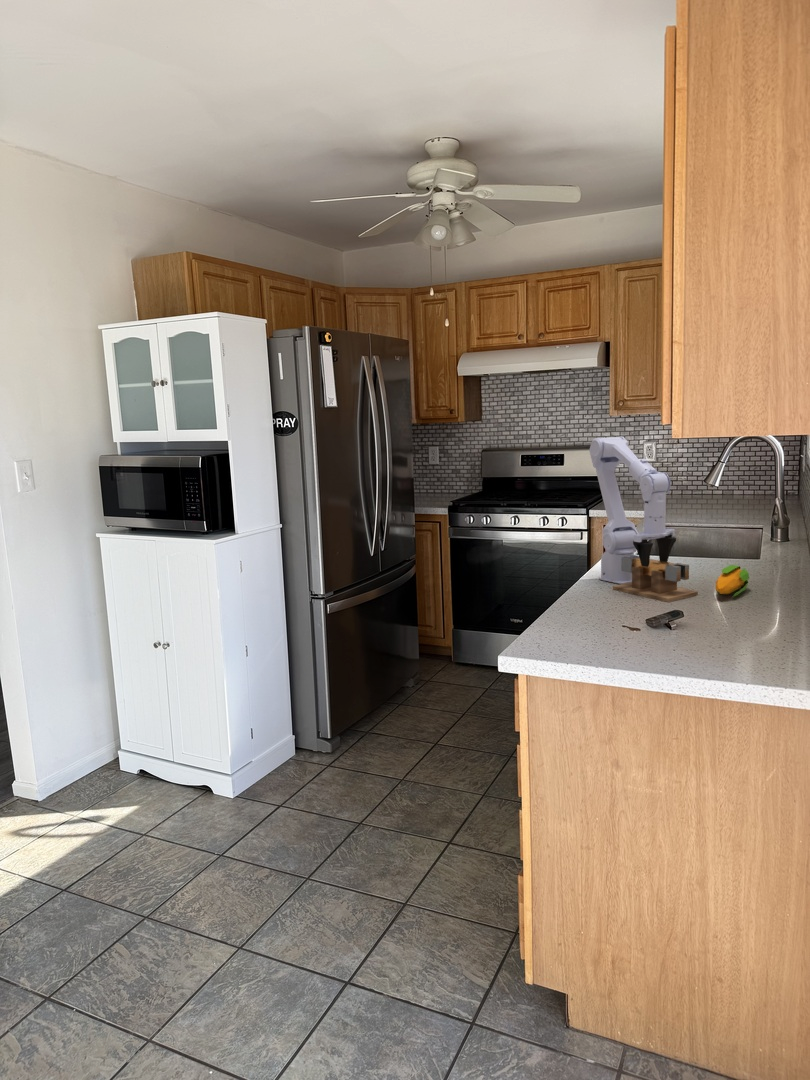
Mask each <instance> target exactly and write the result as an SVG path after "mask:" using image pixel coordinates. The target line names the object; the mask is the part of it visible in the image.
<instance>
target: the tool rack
mask: <svg viewBox="0 0 810 1080" xmlns="http://www.w3.org/2000/svg"><path fill="white" fill-rule="evenodd" d="M613 590H614V591H618V592H621V593H622V592H623V593H626V594H631V595H635V596H640V597H644V598H649V599H653V600H657V601H661V602H665V603H671V602H675V601H679V600H683V599H688V598H692V597H695V596H698V595H699V591H698V590H697V591H696V590H694V589H693V590H692V589H687V588H683V587H678V582H674V581H669V580H665V578H663V572H661V571H656V570H653V571H651V576H649V575H644V574H643V568H640V567H632V582H629V583H624V584H615V585H613V586H612V591H613Z"/></svg>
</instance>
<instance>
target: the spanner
mask: <svg viewBox="0 0 810 1080" xmlns="http://www.w3.org/2000/svg"><path fill="white" fill-rule="evenodd" d="M632 567H640V568H643V574H644V575H649V576H651V571H653V570H656V571H661V572H663V578H665V580H669V581H674V582H677V583H679V582H681V580H684V581H686V580H689V579H690V565H689V564H686V563H681V562H675V563H674V562H671V561H669V562H668V561H667V562H665V561H660V560H659V559H651V558H650V562H649V566H648V567H645V566H641V562H640V558H639V555H635V554H634V555H632V556H630V557H622V558H621V571H624V572H629V573H632Z"/></svg>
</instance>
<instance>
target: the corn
mask: <svg viewBox="0 0 810 1080" xmlns="http://www.w3.org/2000/svg"><path fill="white" fill-rule="evenodd" d="M749 575H750V574H749V572H748V570H747V569H746V568H745V567H744V568H743V569H741V566H740V565H735V564H731V565H728V566H726V567H723V568H722V570H721V574H720V575H719V577H718V578H717V580H716V581H715V591H716V593H718V594H719V595H722V596H724V595H730V594H732V593H734V592H735V591H737V590H738V591H737V592H735V593H734V594H733V596H732V598H735V597H736V596H738V595H740V594H741V593H742V592H744V591H745V590H747V587H748V584H749V581H748V580H749V579H750V576H749ZM739 589H740V590H739Z"/></svg>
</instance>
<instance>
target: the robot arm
mask: <svg viewBox="0 0 810 1080" xmlns="http://www.w3.org/2000/svg"><path fill="white" fill-rule="evenodd" d="M589 455H590V459H591V463H592V466H593V468H594V469H595V472H596V476H597V480H598V483H599V489H600V492H601V496H602V501H603V504H604V510H605V514H606V518H607V521H608V522H607V523H606V524H605V526H604V527H603V528H602V530H601V533H602V545H603V548H604V549H605V551H604V552H603V553H602V555H601V559H600V570H601V571H600V572H601V573H600V577H599V578H598V579H599V580H600V581H604V582H610V583H615V584H617V585H620V584H624V583H629V582H632V573H629V572H624V571H621V558H622V557H630V556H632V555H635V554H634V553H637V554H638V555H637V556H639V558H640V562H641V566H645V567H648V566H649V562H650V559H651V552H652V549H653V545H654V543H653V542H649V541H650V540H651V541H652V540H655V541H656V544H657V548H658V557H659V558H658V560H659V561H665V562H668V560H669V557H670V554H671V551H672V548H673V546H674V544H675V543H676V541H677V537H675V535H676V529H674V528H666V515H667V512H666V510H667V509H666V506H667V505H666V502H667V494H668V492H669V491H670V490H671V486H672V485H671V478H670V476H669V475H668V473H667V472H661V471H658V470H657V469H656V468H654V467H653V466H652V465H651V464H650V463H649V462H648V460H647V459H646V458H638V457H637V456H636V454H635V453H634V452H633V451H632V450H631V448H630V447H629V440H627V439H626V438H625V437H624V436H615V437H614V436H613V437H595V438H593V439H592V441H591V443H590V446H589ZM621 463H623V464H624V465H625V466H627V467H628V473H629V475H631V477H632V478H633V479H634V480H636V482H638V484H639V489H640V491H641V498H642V500H643V502H644V506H643V509H644V510H643V531H641V532H638V530H637V528H636V524H635V522H632V521H631V520H629V519H628V518H627V517H626V513H625V508H624V505H623V502H622V496H621V492H620V490H619V485H618V481H617V477H616V473H615V469H616V467H619V466H620V464H621Z"/></svg>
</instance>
